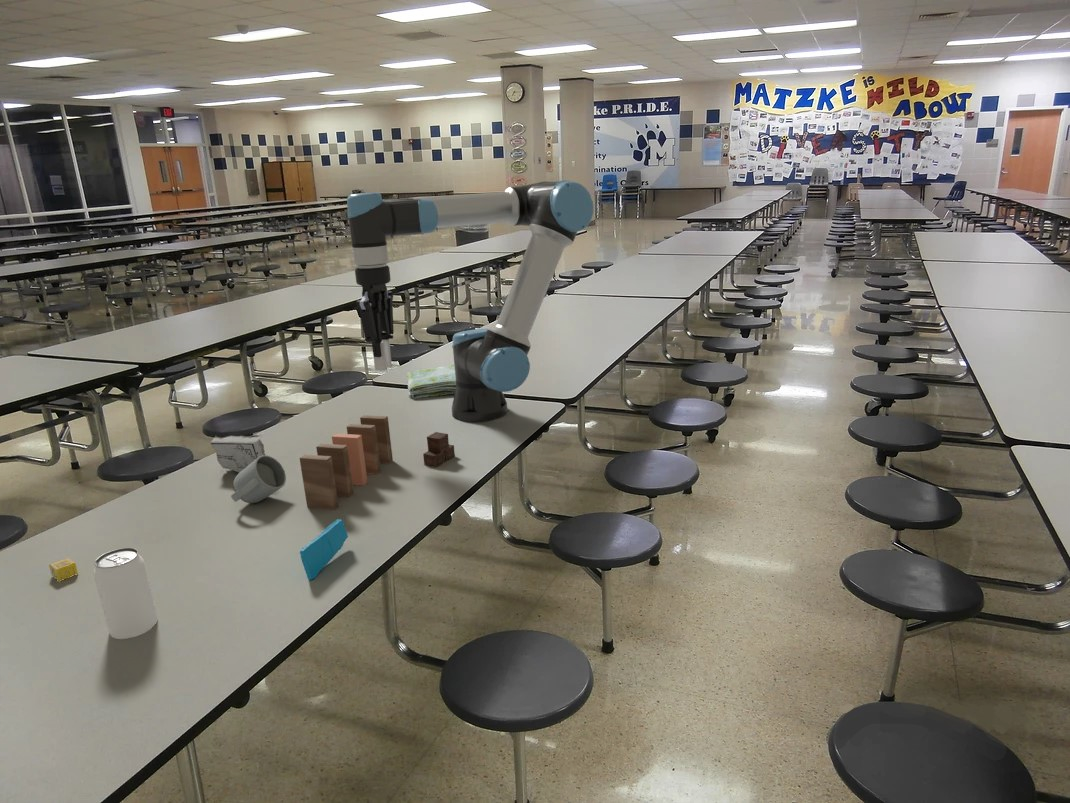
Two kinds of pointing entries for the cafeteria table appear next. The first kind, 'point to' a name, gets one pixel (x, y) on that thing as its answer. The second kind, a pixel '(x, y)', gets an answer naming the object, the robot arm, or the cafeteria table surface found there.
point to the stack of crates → (438, 449)
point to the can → (125, 593)
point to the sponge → (323, 548)
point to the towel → (432, 382)
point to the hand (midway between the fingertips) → (383, 368)
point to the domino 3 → (353, 456)
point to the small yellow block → (63, 569)
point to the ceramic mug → (259, 480)
